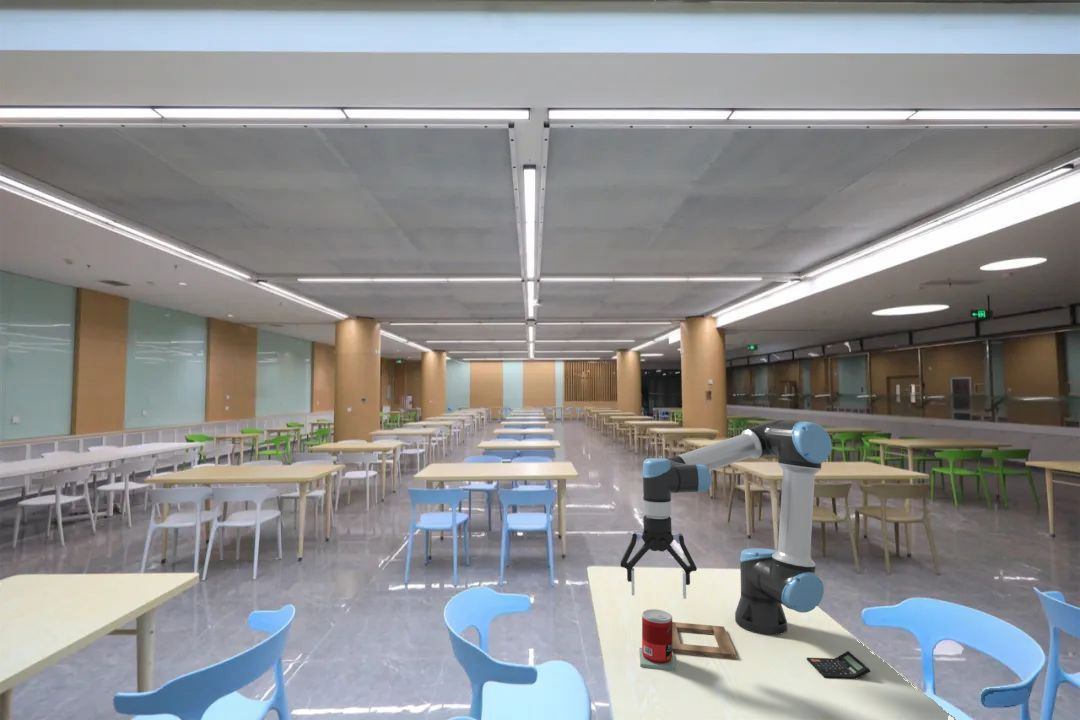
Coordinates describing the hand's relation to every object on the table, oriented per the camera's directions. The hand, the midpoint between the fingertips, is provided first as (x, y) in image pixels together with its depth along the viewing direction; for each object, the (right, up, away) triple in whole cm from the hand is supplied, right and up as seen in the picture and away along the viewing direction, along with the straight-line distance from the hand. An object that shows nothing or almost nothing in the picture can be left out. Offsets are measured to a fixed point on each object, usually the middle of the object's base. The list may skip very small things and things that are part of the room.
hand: (658, 595), depth 140 cm
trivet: (-1, -17, -1) cm, 17 cm away
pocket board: (+14, -18, +10) cm, 25 cm away
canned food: (-1, -16, -1) cm, 16 cm away
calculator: (+47, -18, -4) cm, 50 cm away
